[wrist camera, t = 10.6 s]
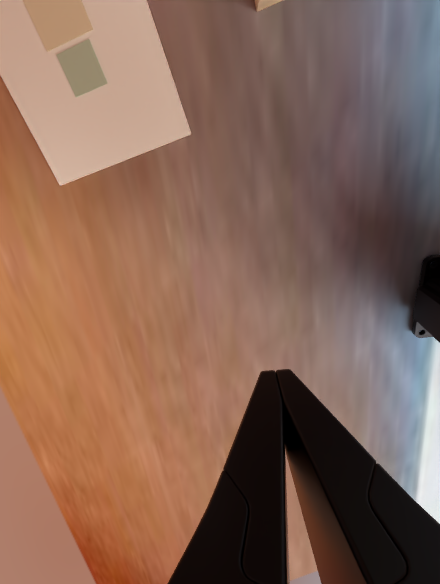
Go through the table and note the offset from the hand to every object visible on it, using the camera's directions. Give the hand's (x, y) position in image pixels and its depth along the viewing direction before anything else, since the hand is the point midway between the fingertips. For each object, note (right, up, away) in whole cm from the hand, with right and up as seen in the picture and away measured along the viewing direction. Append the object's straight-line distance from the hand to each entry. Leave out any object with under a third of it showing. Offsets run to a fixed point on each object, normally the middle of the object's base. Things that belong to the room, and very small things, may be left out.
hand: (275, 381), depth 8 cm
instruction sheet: (-9, +16, +7) cm, 20 cm away
